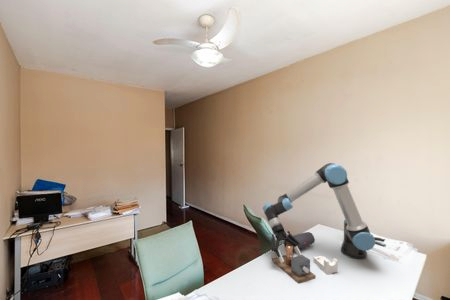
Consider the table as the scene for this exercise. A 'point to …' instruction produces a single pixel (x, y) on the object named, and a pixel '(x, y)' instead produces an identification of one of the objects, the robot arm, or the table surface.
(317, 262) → the bracket
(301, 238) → the bluetooth speaker
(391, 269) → the table surface
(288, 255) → the shaft
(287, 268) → the walnut board
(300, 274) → the bearing block
